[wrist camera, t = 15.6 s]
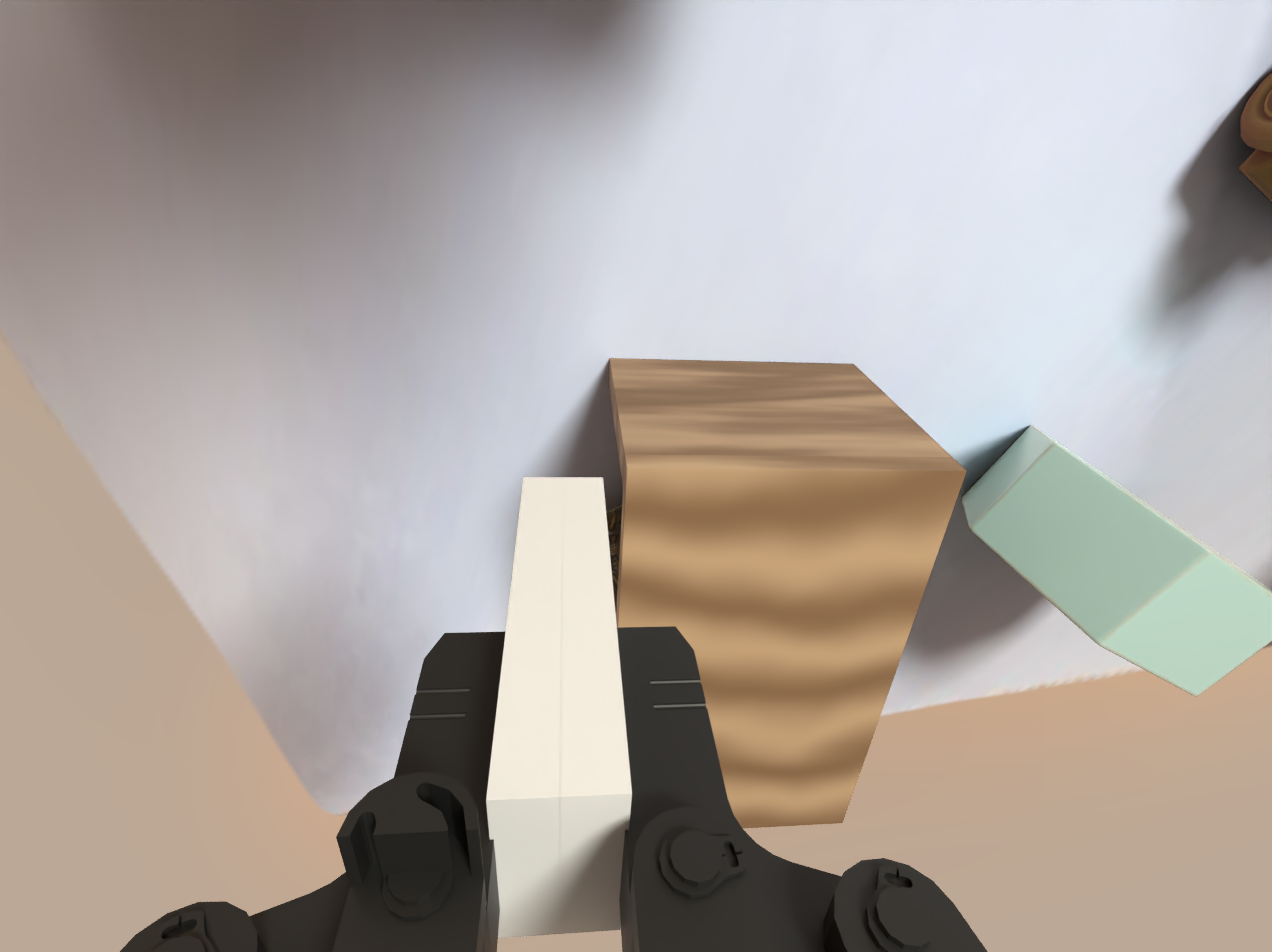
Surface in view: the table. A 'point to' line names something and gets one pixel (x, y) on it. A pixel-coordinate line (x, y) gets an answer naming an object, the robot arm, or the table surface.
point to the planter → (1118, 565)
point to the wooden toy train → (1259, 137)
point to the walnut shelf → (778, 558)
